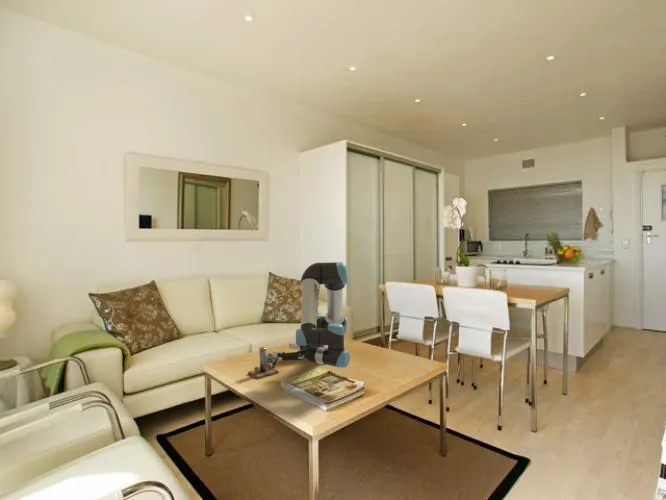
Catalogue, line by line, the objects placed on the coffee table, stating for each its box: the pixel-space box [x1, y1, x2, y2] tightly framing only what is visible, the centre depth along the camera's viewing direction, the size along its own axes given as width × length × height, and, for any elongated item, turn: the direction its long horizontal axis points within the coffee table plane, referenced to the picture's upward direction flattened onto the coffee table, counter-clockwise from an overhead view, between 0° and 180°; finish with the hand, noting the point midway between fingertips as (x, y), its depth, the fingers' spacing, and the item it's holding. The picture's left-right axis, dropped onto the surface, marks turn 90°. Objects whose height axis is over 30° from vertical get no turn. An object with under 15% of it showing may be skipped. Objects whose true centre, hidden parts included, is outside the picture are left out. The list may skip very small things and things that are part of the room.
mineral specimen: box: [267, 352, 280, 369], centre depth 206 cm, size 10×8×10 cm
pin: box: [259, 346, 268, 372], centre depth 193 cm, size 4×4×12 cm
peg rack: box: [247, 363, 280, 380], centre depth 193 cm, size 12×10×4 cm
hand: (281, 349), depth 187 cm, fingers open, 13 cm apart
